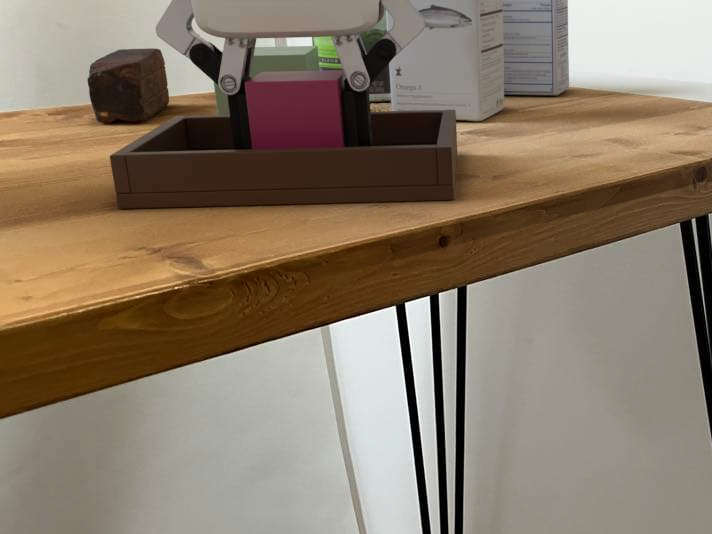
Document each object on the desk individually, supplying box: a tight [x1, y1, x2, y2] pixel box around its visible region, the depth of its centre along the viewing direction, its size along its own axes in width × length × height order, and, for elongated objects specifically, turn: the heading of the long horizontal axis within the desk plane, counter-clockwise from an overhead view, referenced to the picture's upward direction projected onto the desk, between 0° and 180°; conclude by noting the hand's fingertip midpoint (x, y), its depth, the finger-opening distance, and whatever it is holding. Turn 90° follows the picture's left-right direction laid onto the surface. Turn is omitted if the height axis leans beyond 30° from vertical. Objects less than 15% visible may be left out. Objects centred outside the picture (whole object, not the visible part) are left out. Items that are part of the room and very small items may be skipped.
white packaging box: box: [386, 0, 505, 122], centre depth 85 cm, size 7×7×13 cm
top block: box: [245, 70, 346, 149], centre depth 64 cm, size 5×5×5 cm
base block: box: [213, 45, 320, 115], centre depth 87 cm, size 7×7×5 cm
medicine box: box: [503, 0, 570, 96], centre depth 97 cm, size 8×4×9 cm, turn 74°
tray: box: [109, 110, 458, 210], centre depth 64 cm, size 18×14×3 cm
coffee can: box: [311, 9, 391, 103], centre depth 96 cm, size 10×10×14 cm
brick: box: [87, 48, 170, 124], centre depth 89 cm, size 11×4×5 cm, turn 7°
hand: (305, 157), depth 64 cm, fingers closed on top block, 5 cm apart
